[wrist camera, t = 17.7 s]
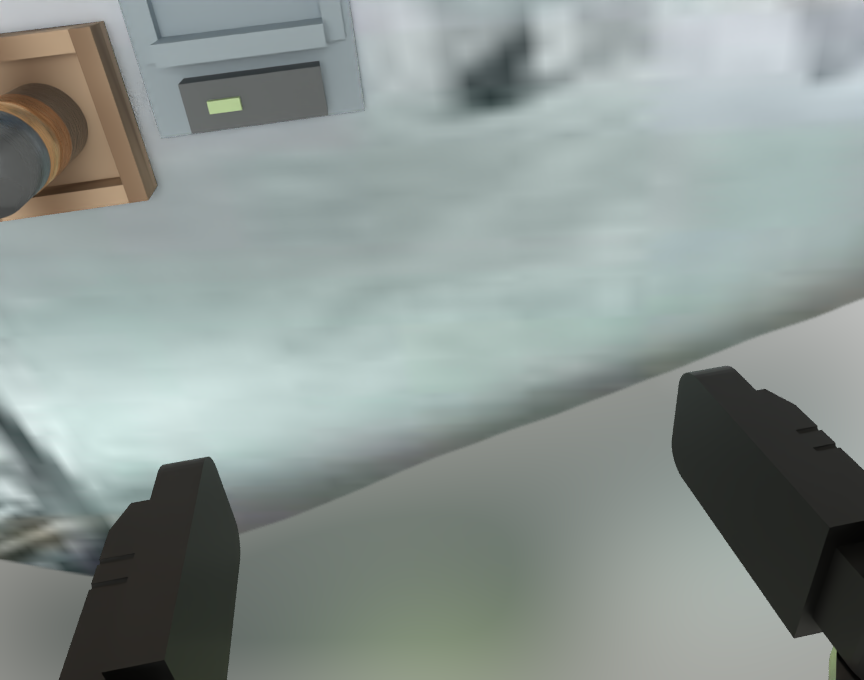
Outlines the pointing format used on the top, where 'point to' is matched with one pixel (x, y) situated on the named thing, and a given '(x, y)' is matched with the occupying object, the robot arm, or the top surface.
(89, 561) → the top surface
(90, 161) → the trough
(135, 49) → the tray
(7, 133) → the cell
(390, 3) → the top surface
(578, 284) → the top surface
